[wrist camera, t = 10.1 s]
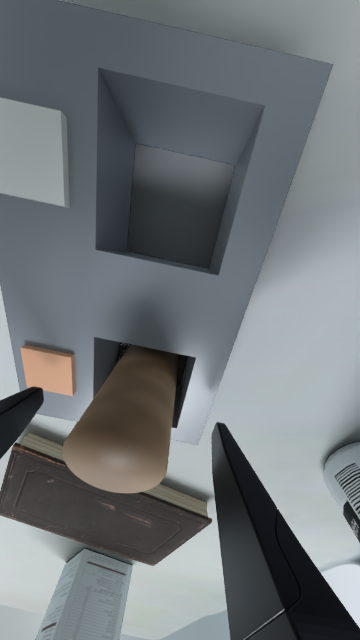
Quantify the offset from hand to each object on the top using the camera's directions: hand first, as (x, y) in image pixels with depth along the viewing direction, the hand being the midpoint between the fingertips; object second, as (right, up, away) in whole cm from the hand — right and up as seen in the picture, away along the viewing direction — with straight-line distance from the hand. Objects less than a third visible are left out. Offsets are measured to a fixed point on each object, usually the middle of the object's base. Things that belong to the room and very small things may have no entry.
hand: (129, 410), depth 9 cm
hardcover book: (-8, -19, +14) cm, 25 cm away
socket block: (0, +7, +3) cm, 8 cm away
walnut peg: (+1, +2, +5) cm, 6 cm away
